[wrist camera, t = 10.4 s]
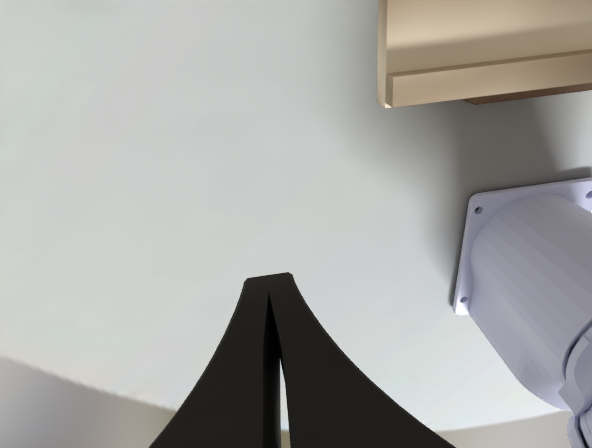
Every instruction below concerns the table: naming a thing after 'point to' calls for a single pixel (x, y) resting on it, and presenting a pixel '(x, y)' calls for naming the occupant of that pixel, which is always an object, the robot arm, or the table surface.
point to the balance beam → (479, 48)
